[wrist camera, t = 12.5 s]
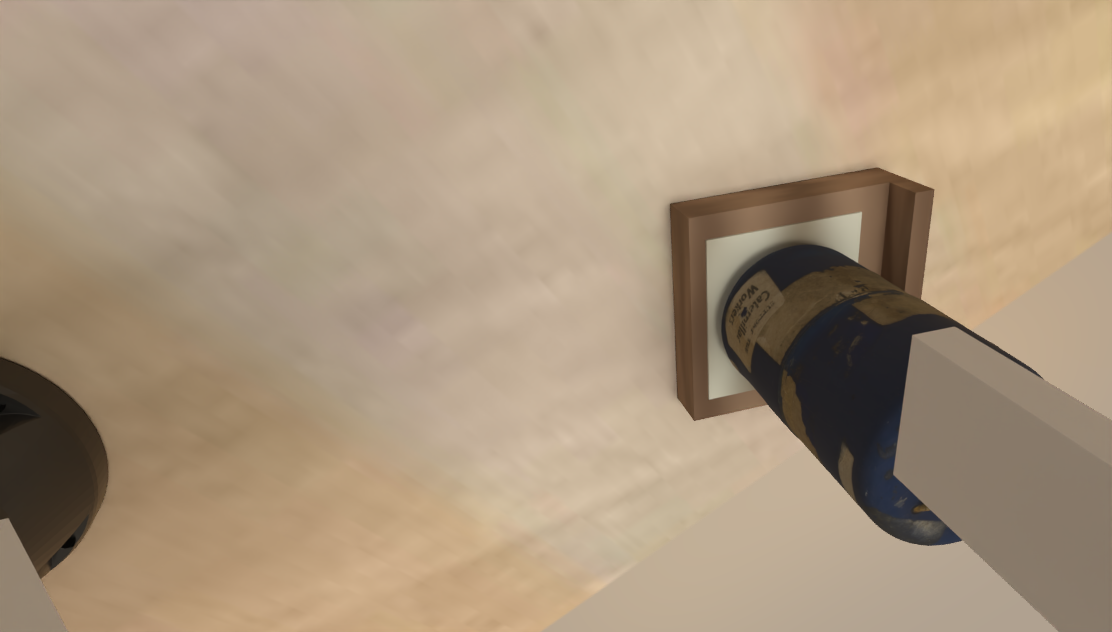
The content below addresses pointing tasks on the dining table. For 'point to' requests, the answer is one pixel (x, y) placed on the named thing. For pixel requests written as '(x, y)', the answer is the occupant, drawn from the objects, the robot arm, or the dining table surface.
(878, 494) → the canister
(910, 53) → the dining table surface
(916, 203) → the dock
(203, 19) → the dining table surface
